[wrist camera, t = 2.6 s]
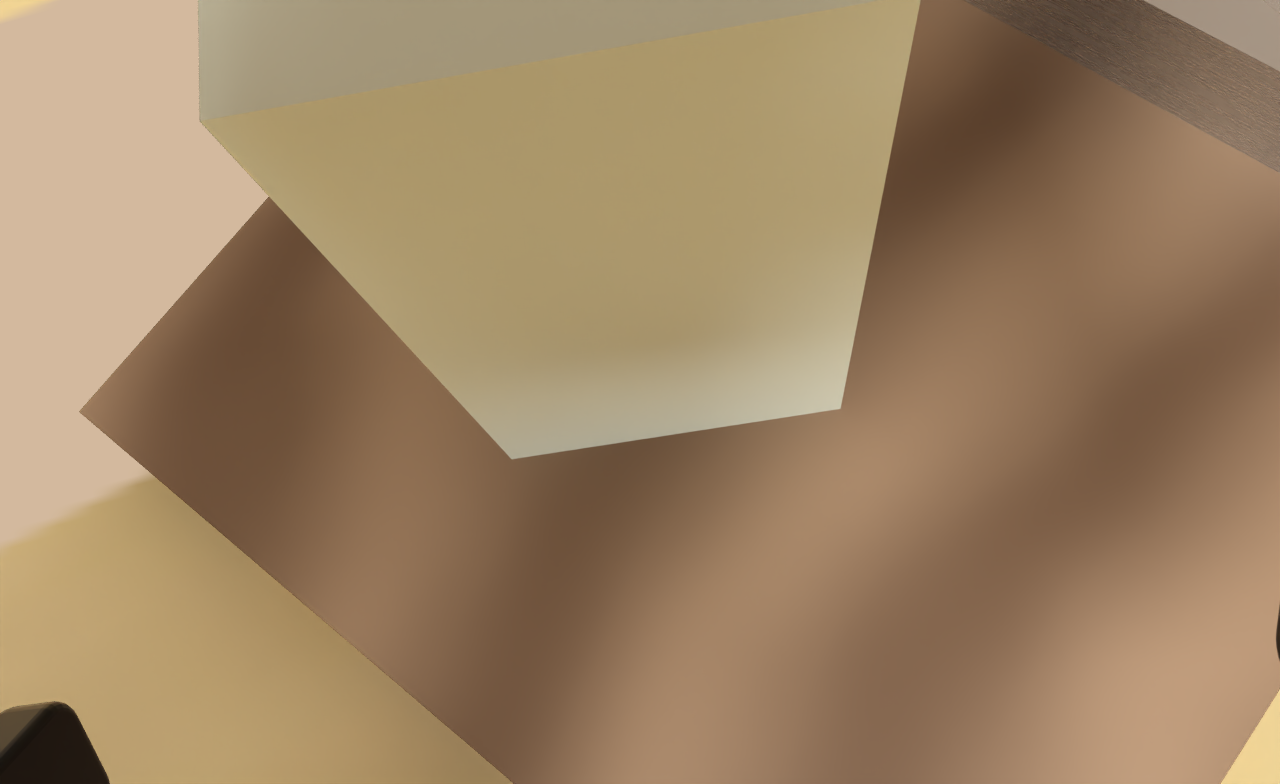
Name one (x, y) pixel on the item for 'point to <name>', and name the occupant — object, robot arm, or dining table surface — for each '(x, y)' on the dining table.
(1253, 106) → the price rail
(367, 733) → the dining table surface
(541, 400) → the tea box
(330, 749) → the dining table surface
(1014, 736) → the shelf board
